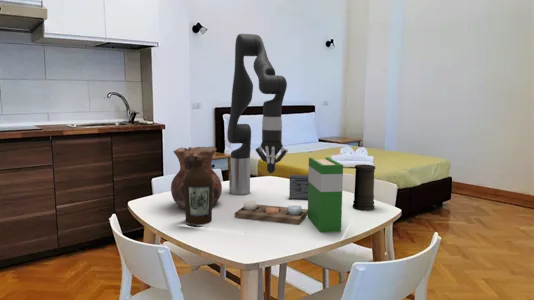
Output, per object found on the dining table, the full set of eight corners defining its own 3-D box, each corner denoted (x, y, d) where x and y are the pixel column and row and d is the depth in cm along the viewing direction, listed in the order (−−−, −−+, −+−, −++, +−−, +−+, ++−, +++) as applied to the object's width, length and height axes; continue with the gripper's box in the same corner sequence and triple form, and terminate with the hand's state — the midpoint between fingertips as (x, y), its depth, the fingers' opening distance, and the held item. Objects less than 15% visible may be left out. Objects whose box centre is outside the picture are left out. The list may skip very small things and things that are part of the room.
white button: (241, 210, 162) (241, 203, 162) (246, 207, 167) (246, 200, 166) (253, 211, 160) (253, 205, 160) (258, 208, 165) (258, 202, 165)
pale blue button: (286, 214, 156) (286, 208, 156) (290, 211, 161) (290, 205, 161) (299, 216, 155) (299, 209, 154) (302, 212, 159) (303, 206, 159)
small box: (312, 196, 196) (312, 174, 194) (312, 200, 189) (312, 177, 188) (289, 196, 197) (290, 174, 195) (289, 199, 190) (289, 176, 189)
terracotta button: (263, 216, 159) (263, 210, 159) (267, 213, 164) (268, 206, 164) (276, 217, 158) (276, 211, 157) (280, 214, 162) (280, 208, 162)
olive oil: (183, 219, 158) (182, 154, 155) (211, 218, 161) (211, 153, 157) (184, 228, 148) (183, 158, 145) (214, 226, 151) (214, 157, 147)
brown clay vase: (165, 202, 183) (164, 146, 180) (211, 197, 192) (210, 143, 189) (179, 216, 163) (178, 152, 160) (229, 209, 173) (229, 149, 170)
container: (376, 206, 179) (378, 165, 177) (372, 211, 171) (373, 168, 169) (355, 204, 183) (356, 163, 181) (350, 209, 175) (351, 166, 173)
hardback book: (307, 219, 160) (308, 157, 157) (326, 219, 161) (328, 157, 158) (319, 235, 142) (321, 165, 139) (340, 234, 143) (343, 165, 140)
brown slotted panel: (234, 220, 158) (234, 212, 158) (248, 210, 172) (248, 203, 171) (299, 227, 150) (299, 219, 150) (308, 216, 164) (308, 209, 163)
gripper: (252, 128, 159) (251, 173, 162) (285, 130, 155) (284, 176, 157) (259, 126, 166) (258, 169, 169) (291, 128, 162) (290, 172, 164)
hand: (271, 172), depth 163 cm, fingers closed
